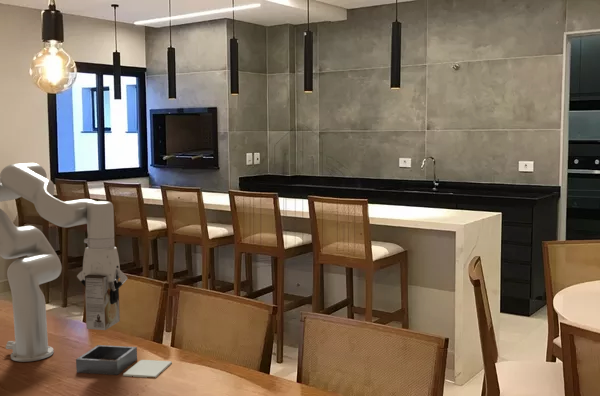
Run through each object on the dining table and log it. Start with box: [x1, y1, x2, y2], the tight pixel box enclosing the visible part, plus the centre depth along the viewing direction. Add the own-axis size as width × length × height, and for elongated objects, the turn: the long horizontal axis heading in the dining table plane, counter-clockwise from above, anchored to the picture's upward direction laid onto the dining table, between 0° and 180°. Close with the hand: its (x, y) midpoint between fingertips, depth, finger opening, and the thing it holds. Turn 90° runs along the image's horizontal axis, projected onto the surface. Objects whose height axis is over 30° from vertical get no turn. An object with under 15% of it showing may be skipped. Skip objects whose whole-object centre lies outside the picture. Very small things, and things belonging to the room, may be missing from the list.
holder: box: [75, 344, 138, 376], centre depth 198 cm, size 13×13×4 cm
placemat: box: [122, 359, 173, 379], centre depth 195 cm, size 10×12×1 cm
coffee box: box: [84, 275, 121, 331], centre depth 197 cm, size 9×6×16 cm
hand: (102, 301), depth 197 cm, fingers closed on coffee box, 6 cm apart
